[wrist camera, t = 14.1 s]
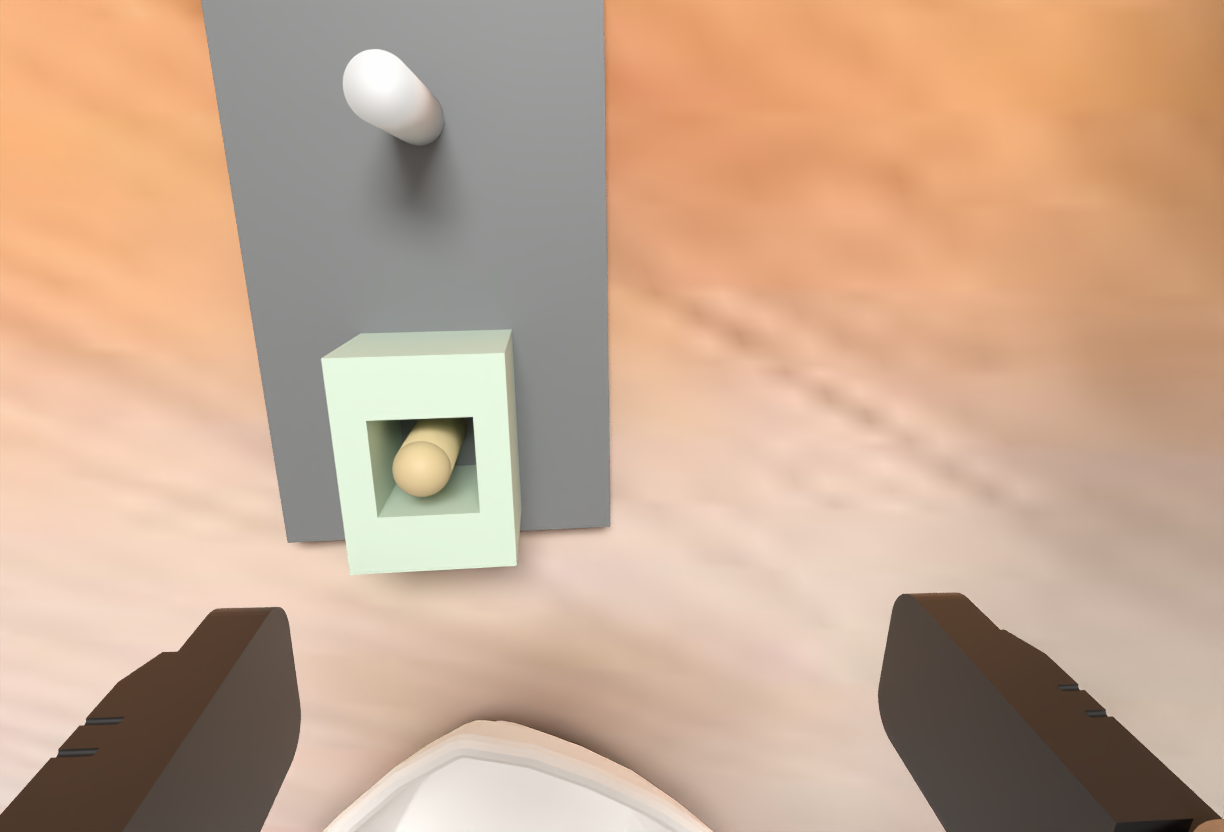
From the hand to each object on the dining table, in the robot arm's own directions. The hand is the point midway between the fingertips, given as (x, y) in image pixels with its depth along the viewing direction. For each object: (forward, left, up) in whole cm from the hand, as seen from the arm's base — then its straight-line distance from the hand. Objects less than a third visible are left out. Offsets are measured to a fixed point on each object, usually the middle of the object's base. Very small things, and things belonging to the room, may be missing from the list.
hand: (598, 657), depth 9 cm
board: (-3, -5, -22) cm, 22 cm away
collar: (+3, -5, -20) cm, 21 cm away
